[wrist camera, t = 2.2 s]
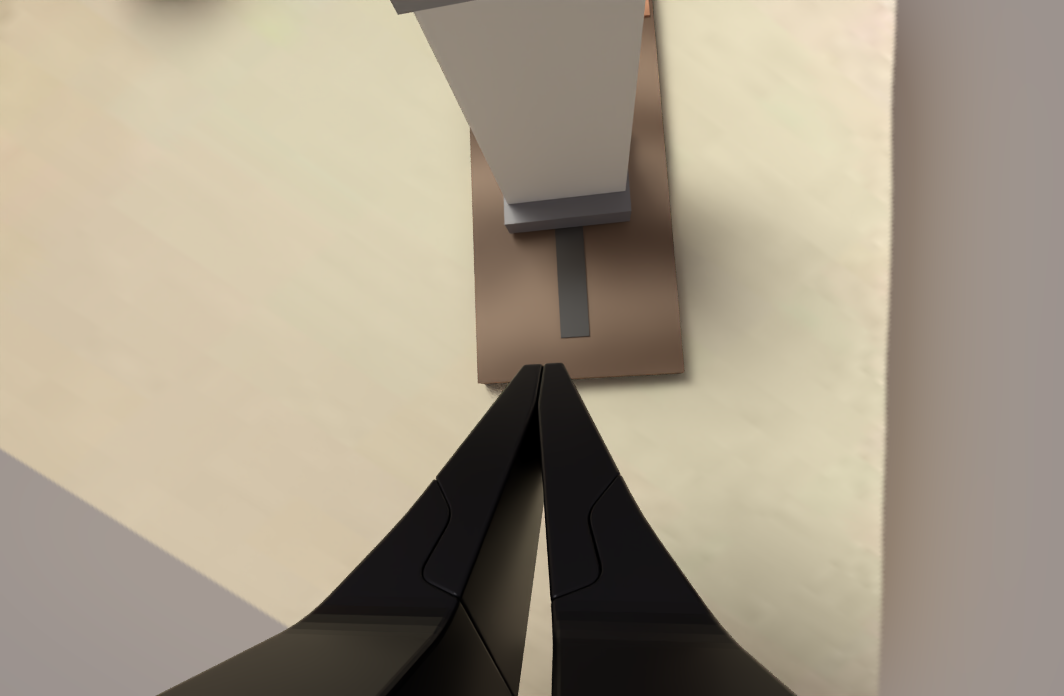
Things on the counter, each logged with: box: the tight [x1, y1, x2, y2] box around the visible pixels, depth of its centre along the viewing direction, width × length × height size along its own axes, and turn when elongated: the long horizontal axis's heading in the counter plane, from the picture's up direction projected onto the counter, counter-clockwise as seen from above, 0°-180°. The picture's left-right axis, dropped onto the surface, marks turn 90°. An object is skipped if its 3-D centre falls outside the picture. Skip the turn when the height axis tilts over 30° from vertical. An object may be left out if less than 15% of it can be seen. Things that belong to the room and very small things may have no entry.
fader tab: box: [390, 0, 646, 234], centre depth 16 cm, size 5×6×13 cm
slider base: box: [470, 0, 684, 384], centre depth 22 cm, size 26×10×4 cm, turn 3°
